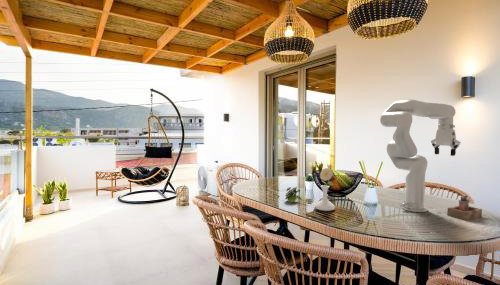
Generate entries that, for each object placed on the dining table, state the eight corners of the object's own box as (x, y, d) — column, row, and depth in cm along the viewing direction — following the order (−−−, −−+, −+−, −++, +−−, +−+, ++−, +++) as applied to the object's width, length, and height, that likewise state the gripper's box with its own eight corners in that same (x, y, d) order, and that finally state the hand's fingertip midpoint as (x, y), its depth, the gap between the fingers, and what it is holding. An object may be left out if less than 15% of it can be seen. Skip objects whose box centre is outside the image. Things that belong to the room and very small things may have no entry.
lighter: (464, 216, 146) (464, 197, 146) (456, 214, 149) (457, 195, 149) (470, 213, 151) (470, 195, 150) (462, 211, 154) (463, 193, 153)
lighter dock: (465, 220, 143) (465, 212, 143) (447, 215, 152) (447, 207, 151) (481, 216, 148) (481, 209, 148) (463, 212, 157) (463, 205, 156)
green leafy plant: (288, 208, 185) (289, 191, 191) (304, 207, 180) (305, 190, 186) (281, 202, 177) (283, 184, 184) (297, 200, 172) (298, 183, 178)
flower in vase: (311, 208, 167) (311, 166, 165) (327, 206, 170) (327, 165, 169) (323, 214, 154) (324, 169, 153) (341, 212, 158) (341, 168, 157)
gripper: (464, 127, 166) (463, 155, 167) (435, 127, 182) (435, 153, 183) (456, 127, 163) (455, 156, 164) (427, 127, 179) (427, 154, 180)
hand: (444, 154), depth 173 cm, fingers open, 9 cm apart
